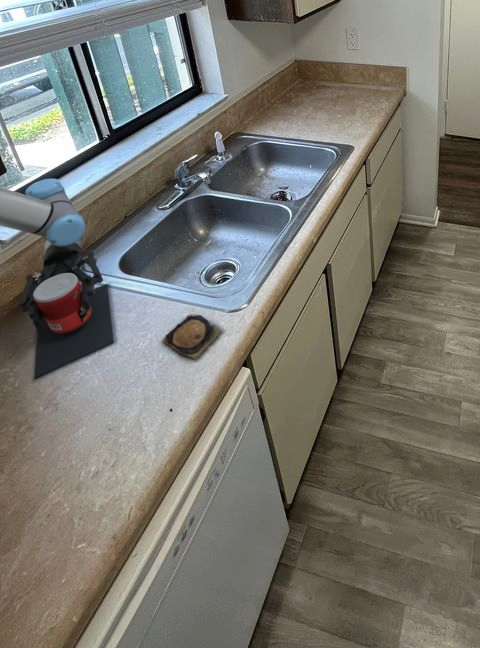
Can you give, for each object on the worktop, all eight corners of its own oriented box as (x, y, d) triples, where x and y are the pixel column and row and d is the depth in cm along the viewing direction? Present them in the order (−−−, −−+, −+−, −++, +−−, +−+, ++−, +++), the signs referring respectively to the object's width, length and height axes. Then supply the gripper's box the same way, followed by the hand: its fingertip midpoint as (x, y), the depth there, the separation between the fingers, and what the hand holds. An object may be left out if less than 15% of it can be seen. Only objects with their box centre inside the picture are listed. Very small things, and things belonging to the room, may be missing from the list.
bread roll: (224, 331, 100) (221, 320, 99) (193, 363, 94) (190, 351, 92) (192, 314, 105) (188, 303, 103) (160, 343, 98) (156, 331, 96)
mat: (35, 378, 91) (34, 377, 91) (40, 312, 106) (39, 310, 105) (113, 342, 98) (113, 341, 98) (107, 285, 113) (106, 283, 113)
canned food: (93, 323, 100) (77, 289, 95) (50, 341, 96) (31, 306, 91) (92, 300, 106) (77, 267, 101) (51, 316, 102) (33, 282, 97)
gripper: (114, 246, 118) (122, 303, 101) (16, 282, 108) (7, 352, 91) (105, 225, 115) (112, 280, 98) (4, 259, 104) (-8, 328, 87)
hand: (62, 315), depth 94 cm, fingers closed on canned food, 8 cm apart
